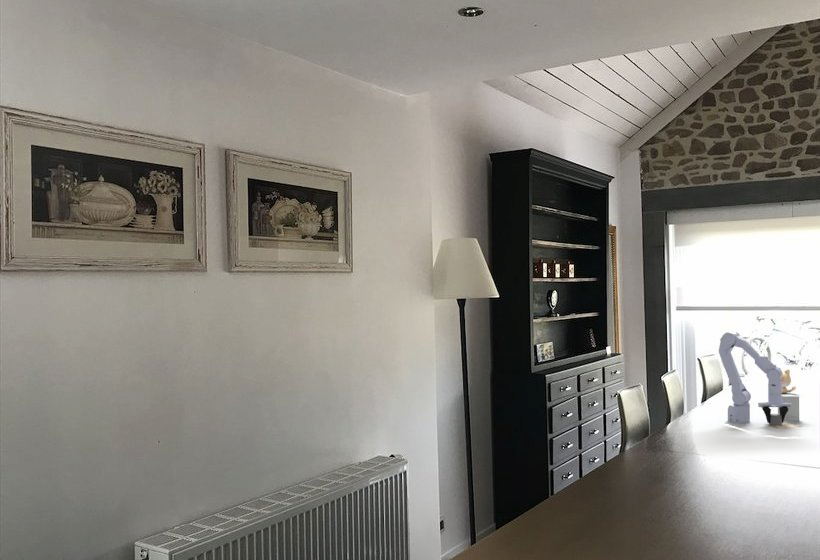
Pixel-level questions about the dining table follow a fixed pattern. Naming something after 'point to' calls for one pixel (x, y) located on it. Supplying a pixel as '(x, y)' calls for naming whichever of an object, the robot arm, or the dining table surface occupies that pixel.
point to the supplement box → (792, 412)
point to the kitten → (786, 381)
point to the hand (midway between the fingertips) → (775, 422)
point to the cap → (775, 419)
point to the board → (783, 425)
